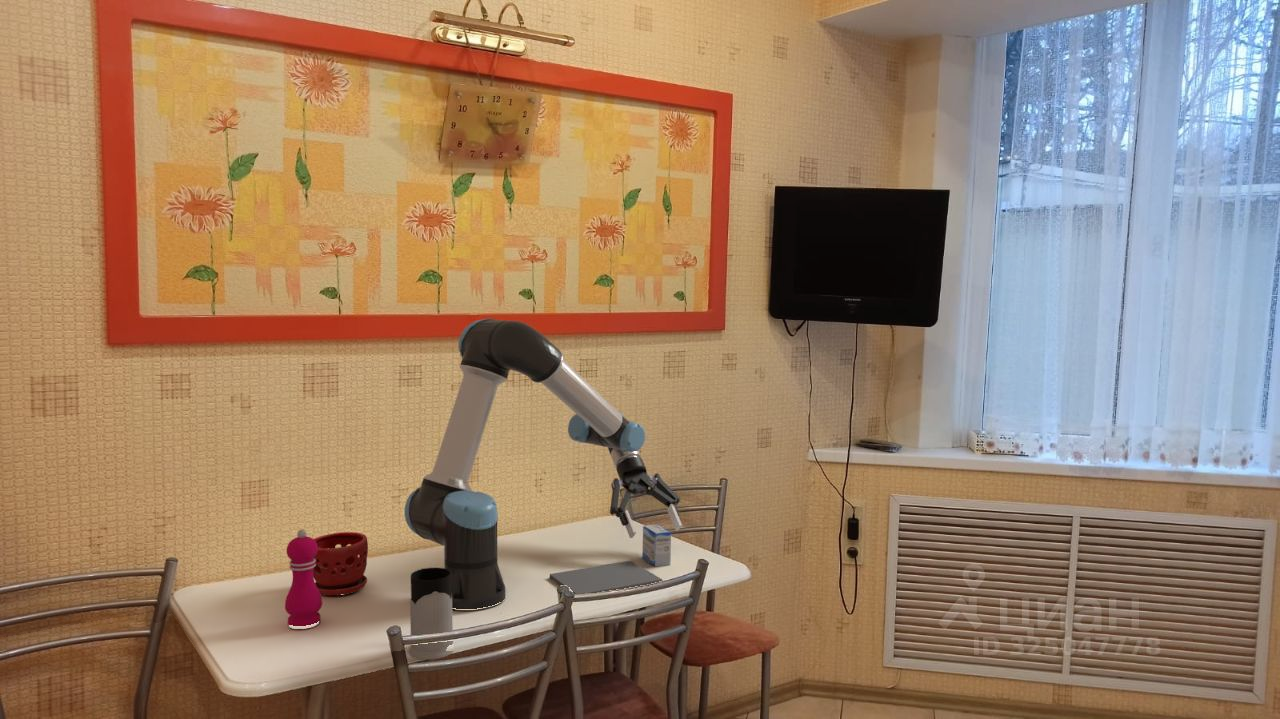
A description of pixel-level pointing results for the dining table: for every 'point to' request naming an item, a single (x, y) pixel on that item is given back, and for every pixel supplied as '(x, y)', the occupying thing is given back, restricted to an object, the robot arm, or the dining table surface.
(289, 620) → the pepper mill
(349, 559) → the plant pot
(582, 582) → the rubber mat
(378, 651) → the dining table surface
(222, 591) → the dining table surface
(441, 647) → the glass holder
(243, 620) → the dining table surface
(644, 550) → the medicine box
